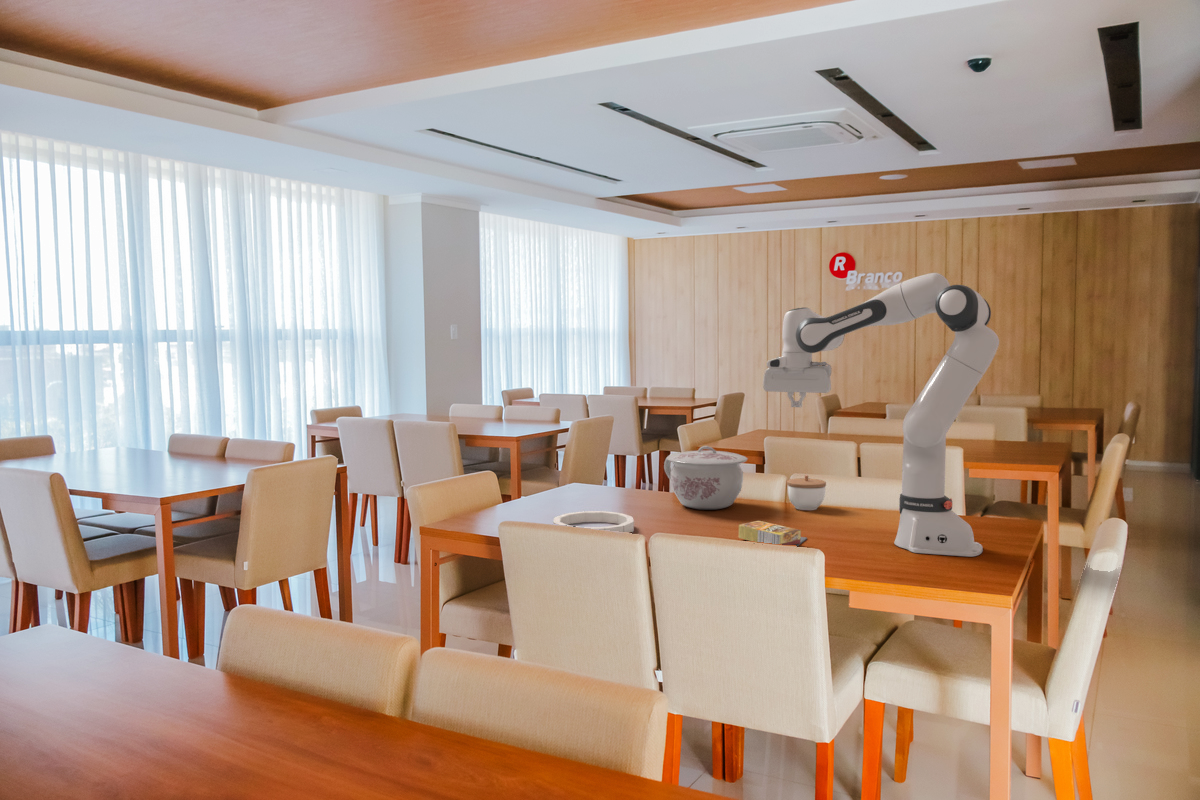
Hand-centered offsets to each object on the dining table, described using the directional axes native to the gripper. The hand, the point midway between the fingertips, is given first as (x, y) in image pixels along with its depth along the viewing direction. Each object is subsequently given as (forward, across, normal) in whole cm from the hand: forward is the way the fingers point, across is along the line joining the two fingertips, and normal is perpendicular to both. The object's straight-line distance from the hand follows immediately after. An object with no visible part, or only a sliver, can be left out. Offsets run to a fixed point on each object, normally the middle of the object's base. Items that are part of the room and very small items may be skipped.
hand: (796, 407), depth 263 cm
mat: (+36, -1, +23) cm, 43 cm away
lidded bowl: (+36, +3, -25) cm, 44 cm away
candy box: (+34, +7, +23) cm, 42 cm away
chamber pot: (+36, +34, -13) cm, 52 cm away
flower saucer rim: (+36, +52, +34) cm, 72 cm away
